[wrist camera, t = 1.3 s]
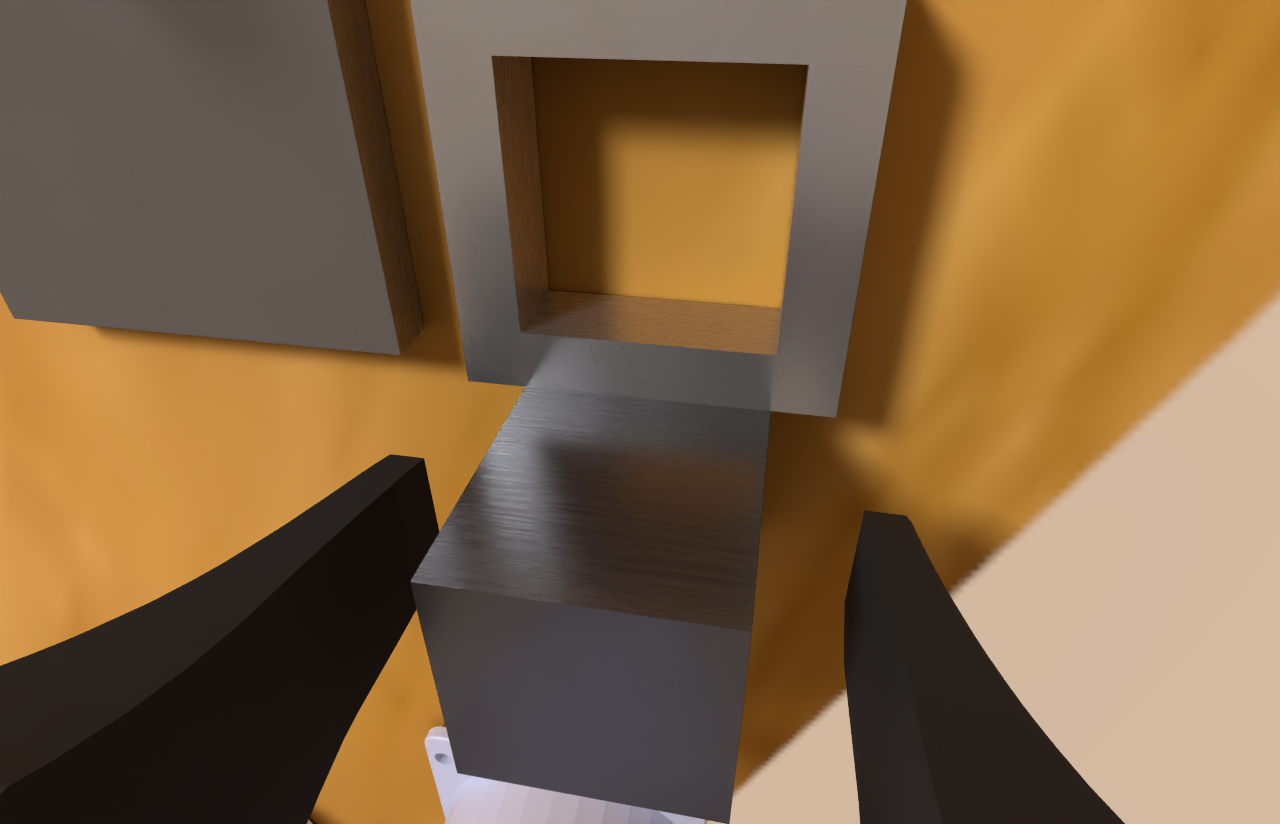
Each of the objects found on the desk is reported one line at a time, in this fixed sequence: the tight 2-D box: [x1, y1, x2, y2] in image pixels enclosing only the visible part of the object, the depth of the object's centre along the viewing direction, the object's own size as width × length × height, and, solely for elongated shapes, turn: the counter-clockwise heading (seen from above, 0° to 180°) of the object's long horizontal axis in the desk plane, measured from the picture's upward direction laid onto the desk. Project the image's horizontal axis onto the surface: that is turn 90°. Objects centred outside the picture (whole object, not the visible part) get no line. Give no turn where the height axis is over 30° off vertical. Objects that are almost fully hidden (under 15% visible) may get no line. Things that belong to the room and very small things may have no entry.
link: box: [410, 0, 907, 824], centre depth 11 cm, size 10×6×6 cm, turn 0°
